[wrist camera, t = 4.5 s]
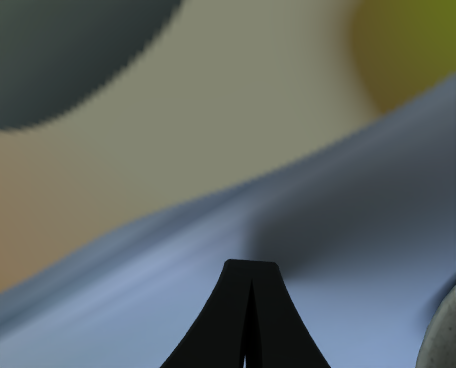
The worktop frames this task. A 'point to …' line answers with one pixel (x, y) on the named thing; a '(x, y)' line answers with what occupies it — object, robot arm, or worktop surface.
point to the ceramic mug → (440, 337)
